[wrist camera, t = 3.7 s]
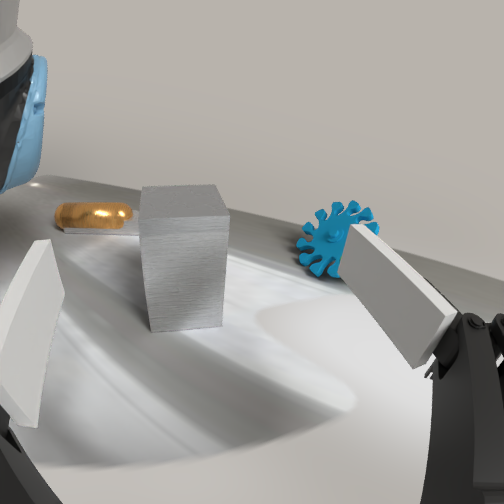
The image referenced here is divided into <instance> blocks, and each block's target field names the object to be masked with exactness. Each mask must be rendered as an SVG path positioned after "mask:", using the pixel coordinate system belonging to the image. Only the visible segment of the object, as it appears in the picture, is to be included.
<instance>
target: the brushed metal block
mask: <svg viewBox="0 0 504 504" xmlns="http://www.w3.org/2000/svg"><path fill="white" fill-rule="evenodd" d="M229 224H230V214H229V212H228V210H227V208H226V206H225V204H224V202H223V200H222V198H221V196H220V194H219V192H218V190H217V188H216V186H215V185H174V186H151V187H150V186H149V187H142V193H141V200H140V208H139V216H138V225H139V238H140V249H141V259H142V269H143V278H144V286H145V294H146V301H147V308H148V315H149V322H150V328H151V332H163V331H176V330H188V329H200V328H210V327H220V326H222V319H223V304H224V289H225V275H226V262H227V249H228V236H229Z"/></svg>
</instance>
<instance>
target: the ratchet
mask: <svg viewBox="0 0 504 504" xmlns="http://www.w3.org/2000/svg"><path fill="white" fill-rule="evenodd" d="M138 216H139V211H132V209H131V208H130V207H129V206H128V205H127V204H125V203H108V202H78V203H63V204H61V205H60V206H59V207H58V208H57V209H56V211H55V222H56V224H57V225H58V226H59V227H60V228H62V229H64V233H75V234H110V235H139V225H138Z"/></svg>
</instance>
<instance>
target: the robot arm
mask: <svg viewBox="0 0 504 504" xmlns="http://www.w3.org/2000/svg"><path fill="white" fill-rule="evenodd" d="M19 1H20V0H0V194H2V193H4V192H5V191H6V190H8V189H11V188H13V187H16V186H19V185H22V184H24V183H27V182H28V181H30V180H31V179H32V178H33V177H34V175H35V174H36V172H37V170H38V167H39V163H40V158H41V149H42V138H43V126H44V125H43V124H44V110H43V109H44V106H45V97H46V87H47V60H46V58H45V57H42V56H38V55H36V56H35V55H32V48H33V45H32V44H33V42H32V39H31V37H30V36H29V35H27V34H26V33H25V32H23V31H22V30H21V29H19V28H18V27H17V16H18V8H19ZM337 273H338V275H339V276H340V277H341V278H342V279H343V281H344V282H345V283H346V284H347V285H348V287H349V288H350V289H351V290H352V292H353V293H354V294H355V295H356V297H357V298H358V299H359V300H360V301H361V303H362V304H363V305H364V306H365V308H366V309H367V310H368V311H369V313H370V314H371V315H372V316H373V318H374V319H375V320H376V322H377V323H378V324H379V325H380V327H381V328H382V329H383V331H384V332H385V333H386V334H387V336H388V337H389V338H390V340H391V341H392V342H393V344H394V345H395V346H396V348H397V349H398V350H399V351H400V353H401V354H402V355H403V357H404V358H405V359H406V361H407V362H408V363H409V365H410V366H411V367H412V369H415V368H417V367H419V366H422V365H424V364H426V362H427V361H428V359H429V358H430V356H431V355H432V353H433V354H434V355H435V357H436V359H435V360H434V362H433V363H432V365H431V366H430V368H429V369H428V371H427V372H426V373H425V377H424V378H427V376H428V375H429V374H430V372H433V374H432V376H431V377H430V379H432V380H433V395H432V417H431V431H430V443H429V452H428V460H427V467H426V475H425V480H424V486H423V492H422V497H421V502H420V504H504V360H503V361H502V363H501V364H500V365H499V367H497V365H496V361H497V359H498V358H499V357H500V355H501V354H502V355H503V357H504V314H501V313H500V314H497V315H496V316H495V318H494V319H493V321H492V323H485V322H484V321H483V320H482V319H481V318H480V317H479V316H477V315H475V314H473V313H465V314H464V315H462V314H461V313H460V312H459V311H458V310H457V309H456V308H455V307H454V306H453V304H452V303H451V302H450V301H449V300H448V299H447V298H446V297H445V296H443V295H442V294H440V292H439V291H438V290H437V289H436V288H434V286H433V285H432V284H431V283H430V282H429V281H428V280H427V279H425V278H424V277H422V276H421V275H420V274H419V273H418V272H417V271H415V270H414V269H413V268H412V267H411V266H410V265H409V264H408V263H407V262H406V261H405V260H404V259H402V258H401V257H400V256H399V255H398V254H397V253H396V252H395V251H394V250H392V249H391V248H390V247H389V246H388V245H387V244H385V243H384V242H383V241H382V240H381V239H380V238H379V237H377V236H376V235H375V234H374V233H373V232H372V231H371V230H369V229H368V228H367V227H366V226H365V225H363V224H350V228H349V231H348V235H347V239H346V243H345V246H344V250H343V254H342V257H341V261H340V264H339V268H338V271H337ZM64 296H65V292H64V289H63V285H62V282H61V278H60V275H59V271H58V268H57V264H56V260H55V256H54V252H53V248H52V244H51V239H48V240H36V241H34V243H33V245H32V246H31V248H30V250H29V251H28V253H27V255H26V256H25V258H24V260H23V262H22V263H21V265H20V267H19V269H18V271H17V273H16V274H15V276H14V278H13V280H12V282H11V284H10V286H9V288H8V290H7V292H6V294H5V296H4V298H3V300H2V302H1V304H0V504H63V503H62V502H61V501H60V500H59V498H58V497H57V496H56V495H55V494H54V492H53V491H52V490H51V488H50V487H49V486H48V484H47V483H46V482H45V480H44V479H43V478H42V476H41V475H40V473H39V472H38V470H37V469H36V468H35V466H34V465H33V463H32V462H31V460H30V459H29V457H28V456H27V454H26V452H25V451H24V449H23V448H22V446H21V444H20V443H19V441H18V439H17V438H16V436H15V434H14V432H13V431H12V430H11V428H10V427H9V426H8V425H9V419H10V417H11V419H12V420H13V421H14V422H15V423H16V424H17V425H18V426H23V427H31V428H38V420H39V412H40V404H41V397H42V391H43V385H44V379H45V374H46V369H47V364H48V359H49V354H50V350H51V345H52V341H53V337H54V333H55V329H56V325H57V321H58V317H59V314H60V310H61V307H62V303H63V300H64Z"/></svg>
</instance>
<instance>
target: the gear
mask: <svg viewBox="0 0 504 504" xmlns="http://www.w3.org/2000/svg"><path fill="white" fill-rule="evenodd" d="M343 209H344V206H343V205H342V203H341V202H333V204H332V212H331V215H330V216H329V218H328V219H327V220H325V219H326V218H327V213H326V212H325V211H324V209H321V210H319V211H317V212H315V216H316V217H317V219H318V220H319V227H318V228H317V229H316V230H314V226H313V225H312V224H311V223H310V222H307V223H306V224H305V225H304V226H303V227H302V230H303V231H304V232H305V233H306V234H308V235H312V236H313V240H312V241H311V242H307V241H306V240H305V239H304V238H300V239H299V240H298V242H297V245H296V246H297V248H298V249H299V250H301V251H304V250H306V249H313V250H314V252H313V253H312V254H307V253H302V254H300V256H299V260H300V263H301V264H302V265H303V266H308V265H309V264H310V263H311V262H313V261H314V260H317V259H321V258H322V260H321V261H320V262H318V263H314V264H312V265H311V266H310V270H311V271H312V272H313V273H314V274H315V275H316V276H317V277H319V276H321V274H322V273H323V270H324V269H325V267H326V266H327V265H328V264H329V263H331V262H332V261H334V260H336V261H335V263H334V264H333V265H331V266H330V267H329V268H328V271H327V273H328V274H329V275H330V276H331V277H335V278H339V277H340V276H339V275H338V273H337V271H338V268H339V264H340V261H341V257H342V254H343V250H344V246H345V243H346V239H347V235H348V231H349V228H350V224H359V222H360V221H361V220H366V221H371V220H372V219H373V214H372V212H371V210H370V208H368V207H367V208H365V209H364V210H363V211H362V212H360V213H359V214H356V215H353V216H350V215H351V214H353V213H357V212H359V211H360V209H361V207H360V206H359V204H358V203H357V202H355V201H353V200H352V201H351V202H350V203H349V205H348V207H347V209H346V210H345V211H344V212H343V213H341V212H342V211H343ZM339 213H341V214H340V215H338V214H339ZM363 225H365V226H366V227H367V228H368V229H369V230H371V231H372V232H373V233H374V234H375V235H376V236H377V234H378V232H379V226H378V224H377V223H376V222H372V223H369V224H363Z"/></svg>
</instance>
